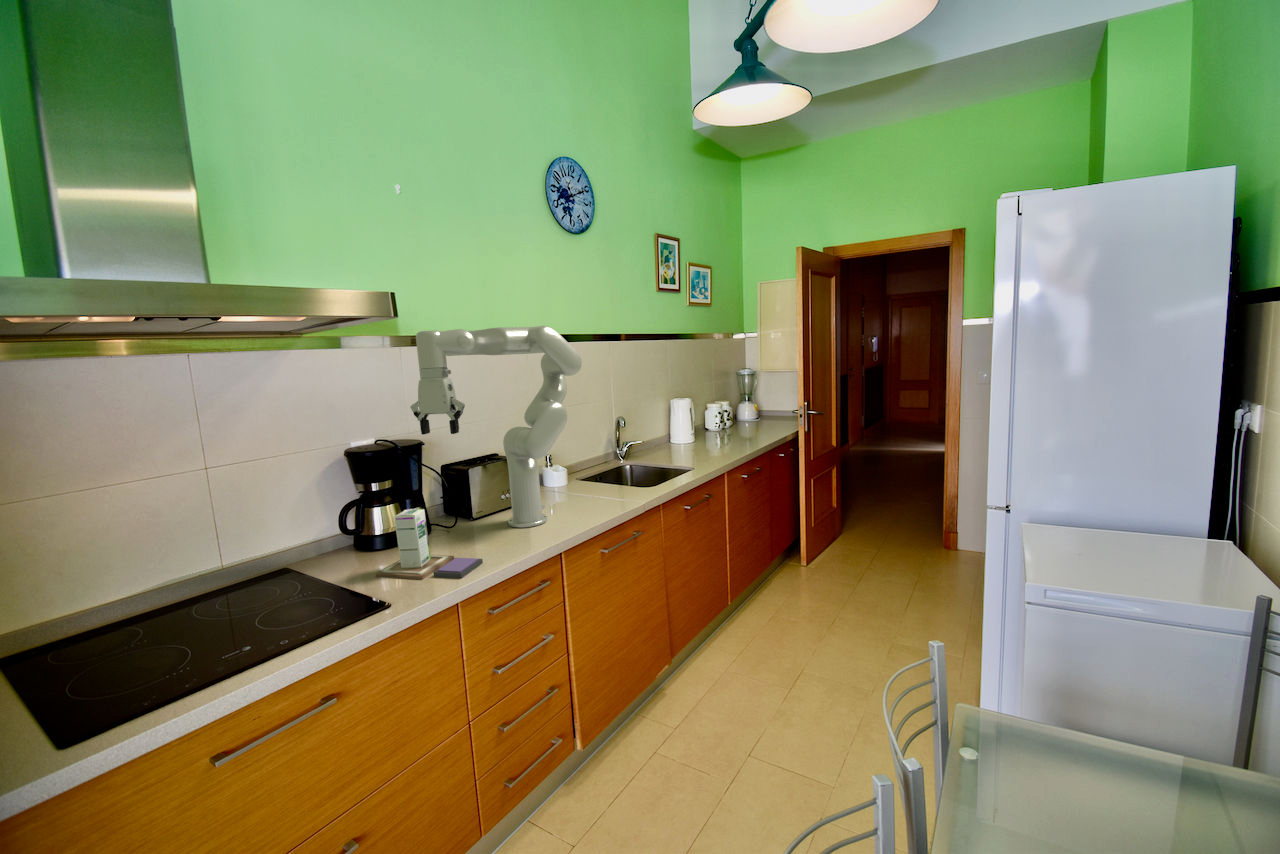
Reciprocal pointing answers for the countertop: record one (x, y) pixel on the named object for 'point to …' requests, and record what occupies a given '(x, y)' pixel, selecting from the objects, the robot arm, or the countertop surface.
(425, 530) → the syrup box
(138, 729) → the countertop surface
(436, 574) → the ink pad
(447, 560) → the board
